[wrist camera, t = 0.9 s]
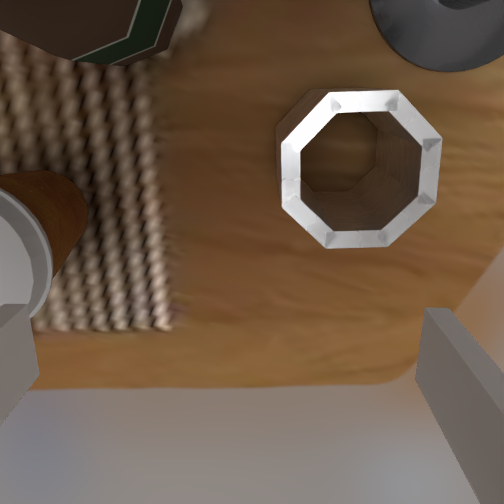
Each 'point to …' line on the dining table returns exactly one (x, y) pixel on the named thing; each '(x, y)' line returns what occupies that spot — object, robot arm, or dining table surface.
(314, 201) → the sleeve
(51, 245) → the disposable coffee cup
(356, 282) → the dining table surface
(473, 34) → the duct stub
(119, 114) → the dining table surface
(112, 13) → the beer bottle
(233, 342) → the dining table surface
